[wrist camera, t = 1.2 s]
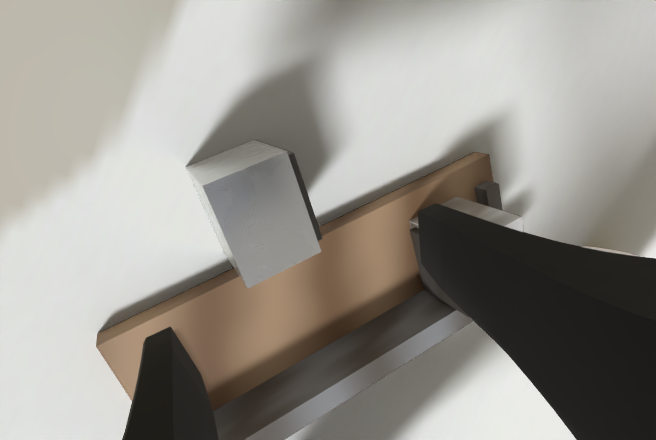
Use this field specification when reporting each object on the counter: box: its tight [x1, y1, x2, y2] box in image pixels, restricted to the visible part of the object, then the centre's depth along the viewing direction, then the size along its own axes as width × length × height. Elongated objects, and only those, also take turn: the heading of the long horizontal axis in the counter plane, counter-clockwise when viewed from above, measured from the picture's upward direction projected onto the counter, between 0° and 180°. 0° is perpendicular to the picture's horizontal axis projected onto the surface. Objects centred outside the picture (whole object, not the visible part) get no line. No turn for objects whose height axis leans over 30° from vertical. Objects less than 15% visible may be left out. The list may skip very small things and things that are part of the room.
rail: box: [96, 152, 523, 440], centre depth 23 cm, size 24×8×6 cm, turn 109°
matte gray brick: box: [186, 140, 323, 289], centre depth 20 cm, size 5×4×5 cm
